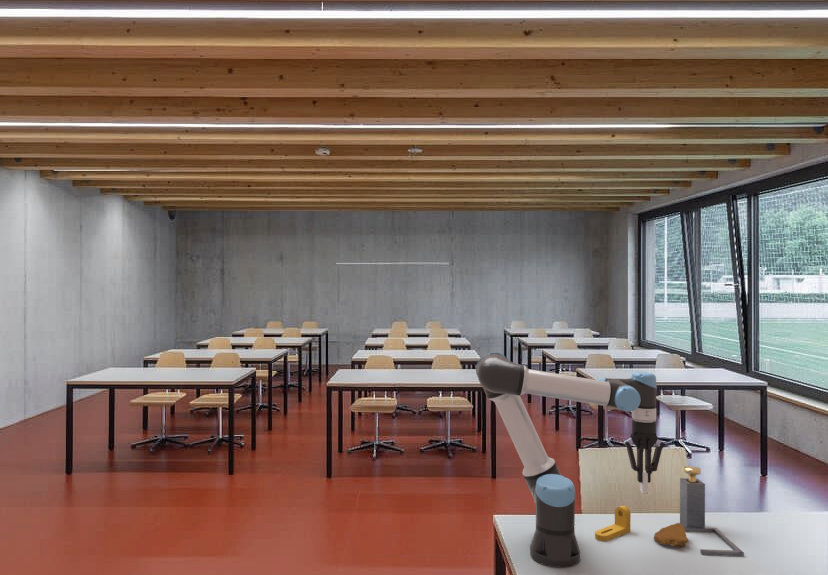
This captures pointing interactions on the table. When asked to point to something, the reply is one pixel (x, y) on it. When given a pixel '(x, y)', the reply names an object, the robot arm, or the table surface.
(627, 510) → the bracket
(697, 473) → the pin
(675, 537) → the artifact
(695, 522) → the press
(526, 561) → the table surface
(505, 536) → the table surface
